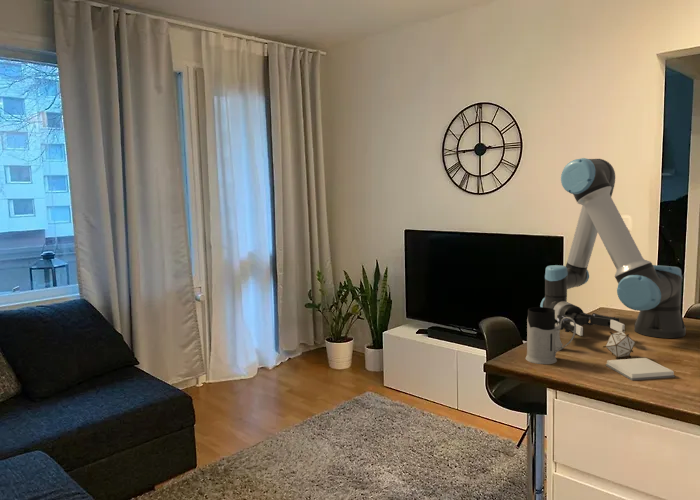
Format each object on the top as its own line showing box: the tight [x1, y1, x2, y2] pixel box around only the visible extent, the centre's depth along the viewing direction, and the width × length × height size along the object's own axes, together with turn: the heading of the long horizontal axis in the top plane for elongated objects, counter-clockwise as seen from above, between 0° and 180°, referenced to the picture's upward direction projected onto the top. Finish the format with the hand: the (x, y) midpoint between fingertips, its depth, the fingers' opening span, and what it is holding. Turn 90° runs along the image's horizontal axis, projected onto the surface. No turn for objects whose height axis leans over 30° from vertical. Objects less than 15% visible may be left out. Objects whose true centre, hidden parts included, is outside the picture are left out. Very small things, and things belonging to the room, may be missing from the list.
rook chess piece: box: [555, 322, 564, 352], centre depth 171 cm, size 4×4×8 cm
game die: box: [602, 329, 639, 360], centre depth 160 cm, size 9×8×10 cm
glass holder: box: [525, 306, 576, 365], centre depth 159 cm, size 9×14×15 cm, turn 51°
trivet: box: [605, 357, 676, 381], centre depth 149 cm, size 12×12×2 cm
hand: (602, 330), depth 169 cm, fingers open, 13 cm apart
